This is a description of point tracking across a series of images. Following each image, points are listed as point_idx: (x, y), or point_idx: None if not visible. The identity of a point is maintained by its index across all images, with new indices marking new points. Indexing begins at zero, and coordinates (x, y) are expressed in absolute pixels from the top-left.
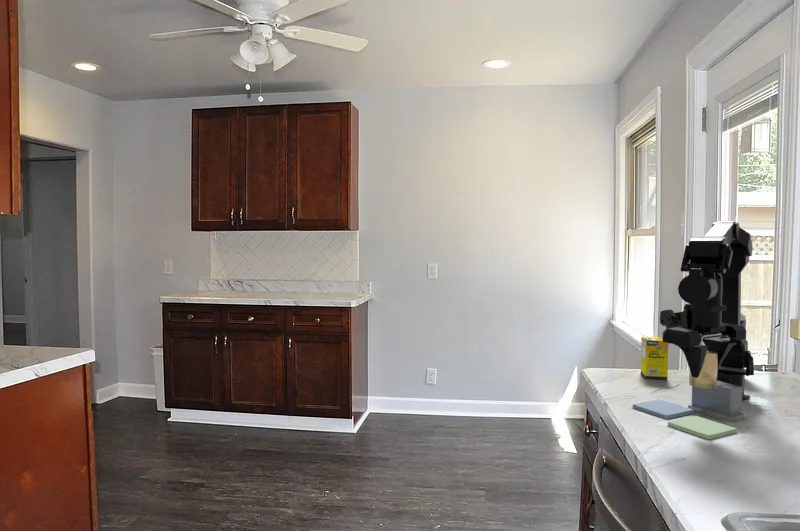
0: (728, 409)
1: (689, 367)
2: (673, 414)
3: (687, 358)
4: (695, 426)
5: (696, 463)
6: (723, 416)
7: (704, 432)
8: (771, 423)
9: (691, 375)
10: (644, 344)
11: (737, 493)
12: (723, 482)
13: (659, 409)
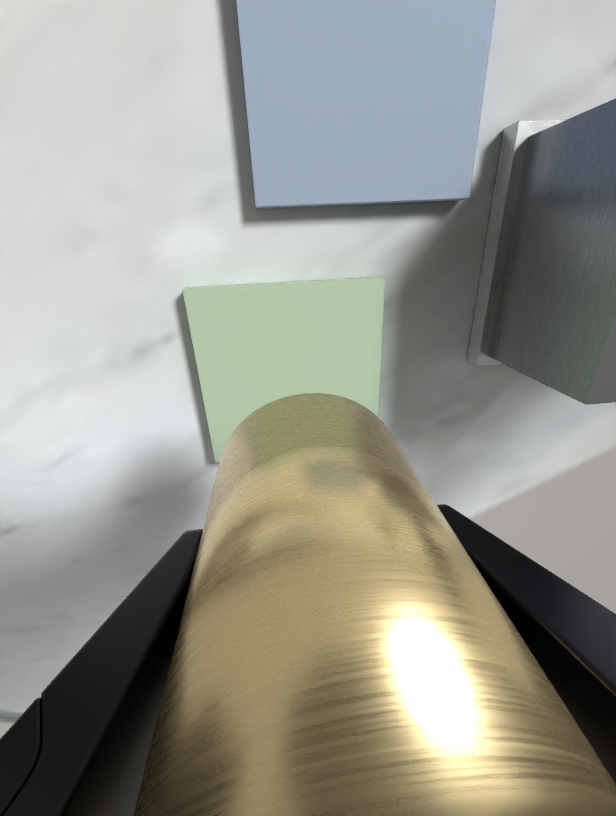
0: (506, 357)
1: (121, 607)
2: (308, 204)
3: (4, 765)
4: (253, 380)
5: (27, 559)
6: (478, 334)
7: (228, 437)
8: (567, 420)
9: (209, 507)
10: None
11: (12, 666)
12: (19, 635)
13: (306, 91)
